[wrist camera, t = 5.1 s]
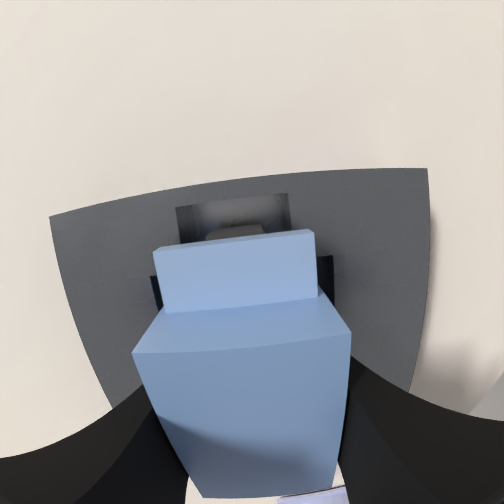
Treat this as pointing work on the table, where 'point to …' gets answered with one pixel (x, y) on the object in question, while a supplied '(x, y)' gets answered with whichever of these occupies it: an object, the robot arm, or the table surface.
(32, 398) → the table surface
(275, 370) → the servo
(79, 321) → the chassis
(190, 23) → the table surface
